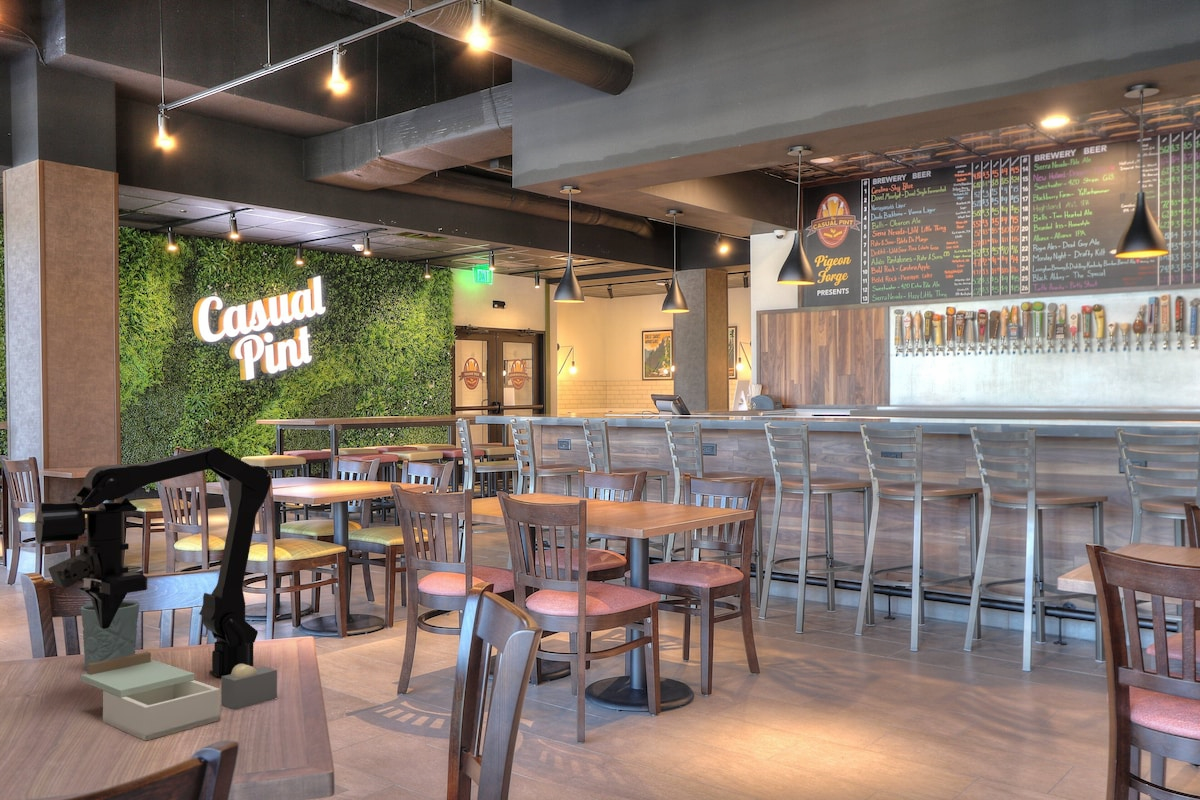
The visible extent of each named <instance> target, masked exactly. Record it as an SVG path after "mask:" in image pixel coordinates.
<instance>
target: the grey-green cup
mask: <svg viewBox="0 0 1200 800" xmlns="http://www.w3.org/2000/svg"><path fill="white" fill-rule="evenodd" d="M139 611H140V602H139V601H137V600H130V599H124V600H123V601H122V603H121V605H120V607H119V609H118V611H117V613H116V614H115V616H114V618H113V620H112V622H111V624H110V626H109V628H106V629H102V628H100V625H99V622H98V618H97V615H96V612H95V609H94V606H93V603H92V602H91V603H87V604H84V605H82V606H81V607H80V612H81V622H82V623H81V624H82V629H83V630H82V640H83V654H84V657H83V658H84V659H83V660H84V669H85V671H87V664H90V663H95V662H100V661H104V660H109V659H114V658H119V657H124V656H129V655H134V654H136V650H135V648H136V643H137V633H138V630H137V628H138V618H139Z"/></svg>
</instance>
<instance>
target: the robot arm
mask: <svg viewBox="0 0 1200 800" xmlns="http://www.w3.org/2000/svg"><path fill="white" fill-rule="evenodd" d="M207 470H210V471H211V472H213V473H214V474H216V476H218V477H219V478H221V479H223V480H224V481H227V482H228V498H229V504H230V517H229V522H228V528H227V532H226V537H225V538H226V539H225V544H224V549H223V551H222V552H223V553H222V559H221V563H220V568H219V574H218V577H217V578H218V579H217V584H216V586H215V588H214V589H213V591H212V592H211V593H208V592H204V593H203V596H202V598H203V599H202V607H201V610H199V613H198V614H199V615H200V616H201V617H202V618H201V619H202V620H201V621H202V624H203V626H204V627H205V628H206V629H207V630H209V631H210V632H211V635H212V636H213V638H214V639H215V640H217V641H214V648H213V649H214V650H212V652H211V653H212V654H211V656H212V657H211V670H209V674H210V675H213V676H216V677H220V678H221V676H226V675H230V674H231V672H232V670H233V668H234V667H235V666H236V665H238V664H246V665H249V666H252V667H254V643H256V639H257V636H258V633H259V631H258V630H257V629H256V628H255V627H253V626H252V625H251V624H250V623H248V622H247V621H246V602H245V601H246V600H245V595H244V591H243V590H244V580H245V577H246V571H247V566H248V561H249V555H250V549H251V544H252V538H253V533H254V530H255V529H254V528H255V523H256V519H257V518H256V517H257V514H258V512H259V510H260V509H261V507H262V505H263V504H264V502H265V501H266V498H267V495H268V493H269V490H270V488H271V484H272V477H271V474H270V473H269V471H268V470H267V469H266V468H265V467H261V466H259V465H250V464H249V463H247V462H246V461H243V460H241V459H239V458H238V457H236V456H233V455H231V454H230V453H228V452H226V451H225V450H224V449H223V448H221V447H218V446H205V447H202V448H201V449H198V450H197V449H196V450H193V451H188V452H185V453H181V454H175V455H171V456H167V457H163V458H159V459H155V460H150V461H145V462H141V463H130V464H128V463H127V464H112V465H98V466H95V467H93V468H91V469H89V470H88V472H87V474H86V475H85V477H84V480H83V486H82V487H81V488H80V490H79V491H78V492H77V493H76V494H75V496H74V497H73V498H72V500H71V501H67V502H39V504H38V511H37V514H36V520H35V521H34V533H35V539H36V542H37V544H40V545H41V544H53V543H64V542H65V543H66V542H76V541H77V540H78V539H79V537H81V536H83V535H84V534H85V533H86V544H81V546H80V549H79V554H78V555H75V556H72V557H70V558H67V559H66V560H63V561H61V562H58V563H56V564H54V565H52V566H50V567H49V568H48V572H49V574H50V577H51V579H52V582H53V584H54V586H55V587H57V586H58V587H61V588H62V589H64V588H69V587H71V586H74V585H75V583H77V582H81V581H83V587H79V588H78V590H79V591H80V592H82V593H83V594H85V595H86V596H88V597H89V599H90V600H91V603H93V606H94V609H95V612H96V615H97V618H98V622H99V625H100V628H102V629H106V628H109V626H110V624H111V622H112V620H113V618H114V616H115V614H116V613H117V611H118V609H119V607H120V605H121V603H122V601H123V600H125V598H126V596H127V594H129V593H135V592H136V593H137V592H141V591H147V590H148V577H146V576H145V575H144V574H143V573H139V572H135V571H130V572H129V567H128V566H125V561H124V556H125V555H124V553H125V552H124V551H126V550H129V547H130V546H129V544H130V543H126V542H125V538H124V537H125V536H124V535H125V527H124V526H125V512H136V511H138V507H137V506H136V505H134V504H133V503H132V502H130V499H129V498H127V497H125V496H127V495H129V494H131V493H134V492H136V491H137V490H139V489H141V488H144V487H146V486H148V485H151V484H154V483H159V482H162V481H166V480H169V479H170V480H171V479H175V478H178V477H183V476H187V475H191V474H195V473H199V472H202V471H207ZM120 498H121V499H120ZM118 499H119V501H116V502H115V500H118ZM106 501H112V502H106ZM113 501H114V502H113ZM97 507H98V508H97ZM89 508H90V509H89Z"/></svg>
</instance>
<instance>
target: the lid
mask: <svg viewBox="0 0 1200 800" xmlns="http://www.w3.org/2000/svg"><path fill="white" fill-rule="evenodd" d="M151 657H152V652H150V651H145V652H141V653H135V654H134V655H129V656H124V657H119V658H114V659H109V660H104V661H100V662H95V663H90V664H87V670H86V673H84V674H80V682H82V683H85V684H87V685H90V686H91V687H95V688H98V689H99V690H104V691H107V692H109V693H112V694H114V695H117V696H119V697H123V696H127V695H131V694H136V693H140V692H144V691H148V690H153V689H157V688H161V687H165V686H169V685H174V684H178V683H182V682H186V681H190V680H195V673H194V672H191V671H188V670H185V669H182V668H179V667H176V666H173V665H169V664H167V663H164V662H161V661H158V660H156V659H151Z"/></svg>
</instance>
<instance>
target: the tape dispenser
mask: <svg viewBox="0 0 1200 800" xmlns="http://www.w3.org/2000/svg"><path fill="white" fill-rule="evenodd" d="M220 679H221V688H220V707H221V706H222V707H224V708H228V709H230V710H233V711H237V710H239V709H243V708H246V707H248V708H249V707H250V706H255V705H259V704H261V703H266V702H269V701H273V700H276V699H275V698H277V699H278V670H277V669H275V668H271V667H268V666H264V665H263V666H260V667H255V666H253V667H252V666H249V665H246V664H238V665H236V666H235V667H234V668H233V670H232V672H231V674H230V675H226V676H221V677H220ZM272 699H273V700H272ZM265 701H266V702H265Z"/></svg>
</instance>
